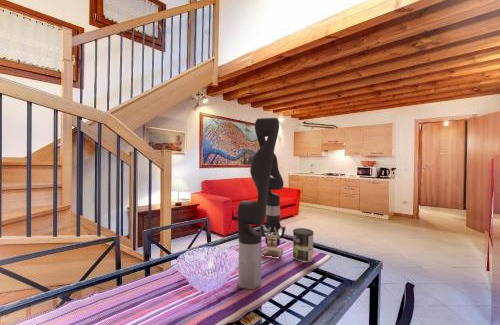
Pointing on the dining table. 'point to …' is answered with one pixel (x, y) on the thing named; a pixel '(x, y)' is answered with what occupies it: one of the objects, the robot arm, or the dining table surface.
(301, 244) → the coffee can
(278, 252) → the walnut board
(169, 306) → the dining table surface
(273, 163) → the robot arm
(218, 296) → the dining table surface
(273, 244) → the letter cube
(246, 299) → the dining table surface
